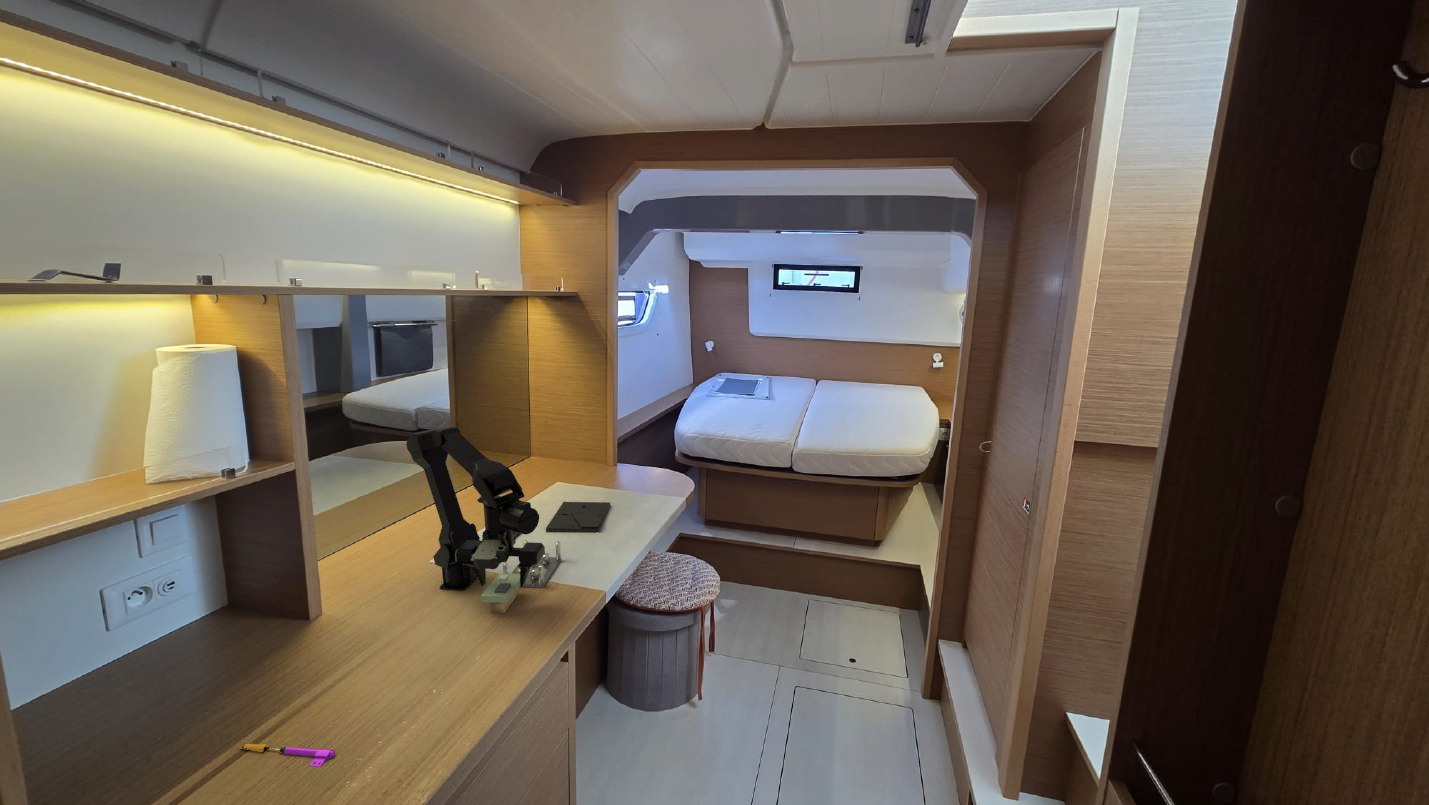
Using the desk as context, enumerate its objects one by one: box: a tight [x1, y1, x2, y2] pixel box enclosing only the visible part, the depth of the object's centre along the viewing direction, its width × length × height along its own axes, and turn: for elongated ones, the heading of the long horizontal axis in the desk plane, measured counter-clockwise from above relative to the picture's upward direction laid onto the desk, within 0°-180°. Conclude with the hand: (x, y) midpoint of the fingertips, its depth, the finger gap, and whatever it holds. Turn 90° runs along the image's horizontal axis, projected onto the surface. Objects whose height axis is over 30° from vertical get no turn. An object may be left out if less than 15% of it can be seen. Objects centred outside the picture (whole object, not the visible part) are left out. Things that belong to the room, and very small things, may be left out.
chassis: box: [502, 539, 562, 589], centre depth 143 cm, size 10×14×6 cm
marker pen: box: [244, 743, 337, 768], centre depth 87 cm, size 3×1×16 cm
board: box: [480, 572, 520, 603], centre depth 128 cm, size 6×10×2 cm, turn 177°
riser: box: [490, 590, 518, 613], centre depth 129 cm, size 3×7×4 cm, turn 177°
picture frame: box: [545, 501, 611, 534], centre depth 177 cm, size 16×3×21 cm
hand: (502, 586), depth 128 cm, fingers open, 9 cm apart
